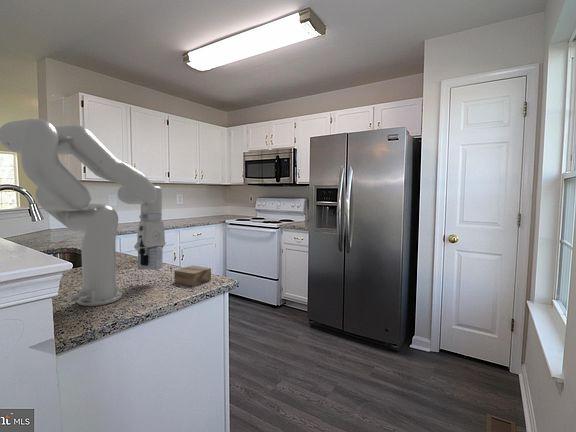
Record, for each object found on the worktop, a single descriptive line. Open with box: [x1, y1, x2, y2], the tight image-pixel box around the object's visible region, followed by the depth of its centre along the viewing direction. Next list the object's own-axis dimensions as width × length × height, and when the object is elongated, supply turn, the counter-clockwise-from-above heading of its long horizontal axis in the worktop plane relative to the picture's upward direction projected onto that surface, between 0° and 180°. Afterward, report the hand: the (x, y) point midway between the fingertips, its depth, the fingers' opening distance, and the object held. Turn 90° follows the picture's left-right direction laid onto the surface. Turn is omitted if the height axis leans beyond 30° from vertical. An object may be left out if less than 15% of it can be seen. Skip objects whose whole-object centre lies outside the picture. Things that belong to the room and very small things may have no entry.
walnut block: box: [173, 265, 212, 287], centre depth 125 cm, size 10×10×5 cm
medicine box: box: [137, 246, 164, 271], centre depth 121 cm, size 8×4×9 cm, turn 84°
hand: (150, 263), depth 121 cm, fingers closed on medicine box, 5 cm apart
